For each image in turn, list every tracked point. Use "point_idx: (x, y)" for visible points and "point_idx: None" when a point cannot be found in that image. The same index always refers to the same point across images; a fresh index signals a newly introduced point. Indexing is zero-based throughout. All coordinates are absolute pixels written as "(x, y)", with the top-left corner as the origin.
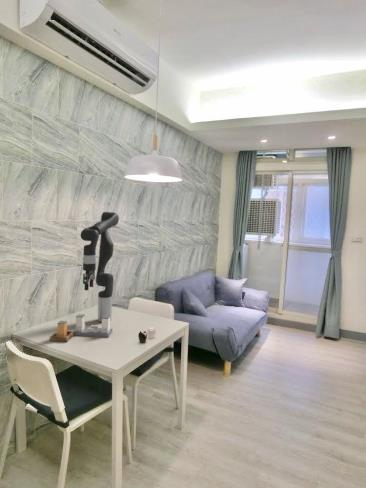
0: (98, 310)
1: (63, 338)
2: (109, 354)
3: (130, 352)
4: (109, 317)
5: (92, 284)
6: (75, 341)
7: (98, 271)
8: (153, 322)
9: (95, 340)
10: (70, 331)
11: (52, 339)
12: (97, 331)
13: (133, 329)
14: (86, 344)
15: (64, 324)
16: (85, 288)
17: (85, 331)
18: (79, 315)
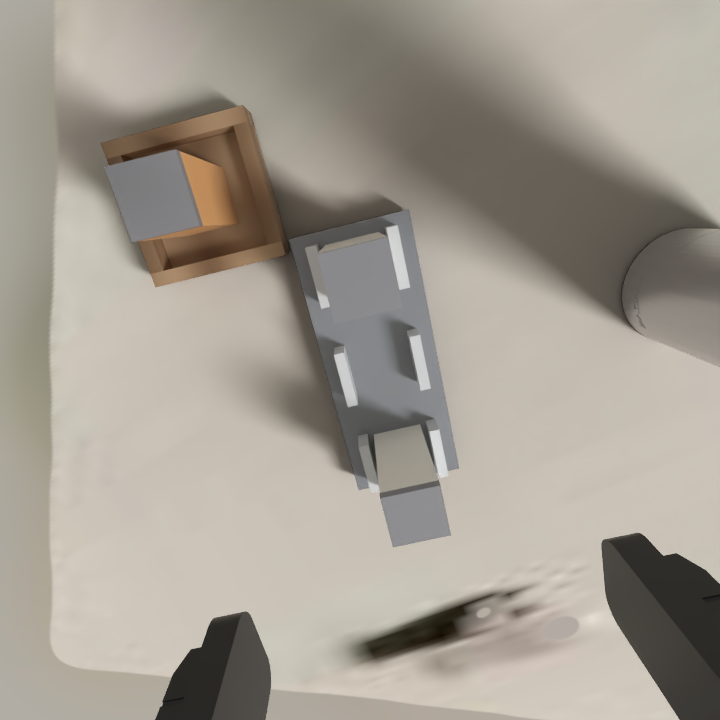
0: (714, 262)
1: (148, 257)
2: (157, 580)
3: None
4: (426, 536)
5: (653, 675)
6: (211, 324)
7: None
8: None
9: (284, 429)
10: (274, 228)
11: None
12: (372, 404)
13: (543, 544)
14: (205, 413)
15: (141, 240)
16: (175, 698)
17: (338, 326)
18: (353, 274)
